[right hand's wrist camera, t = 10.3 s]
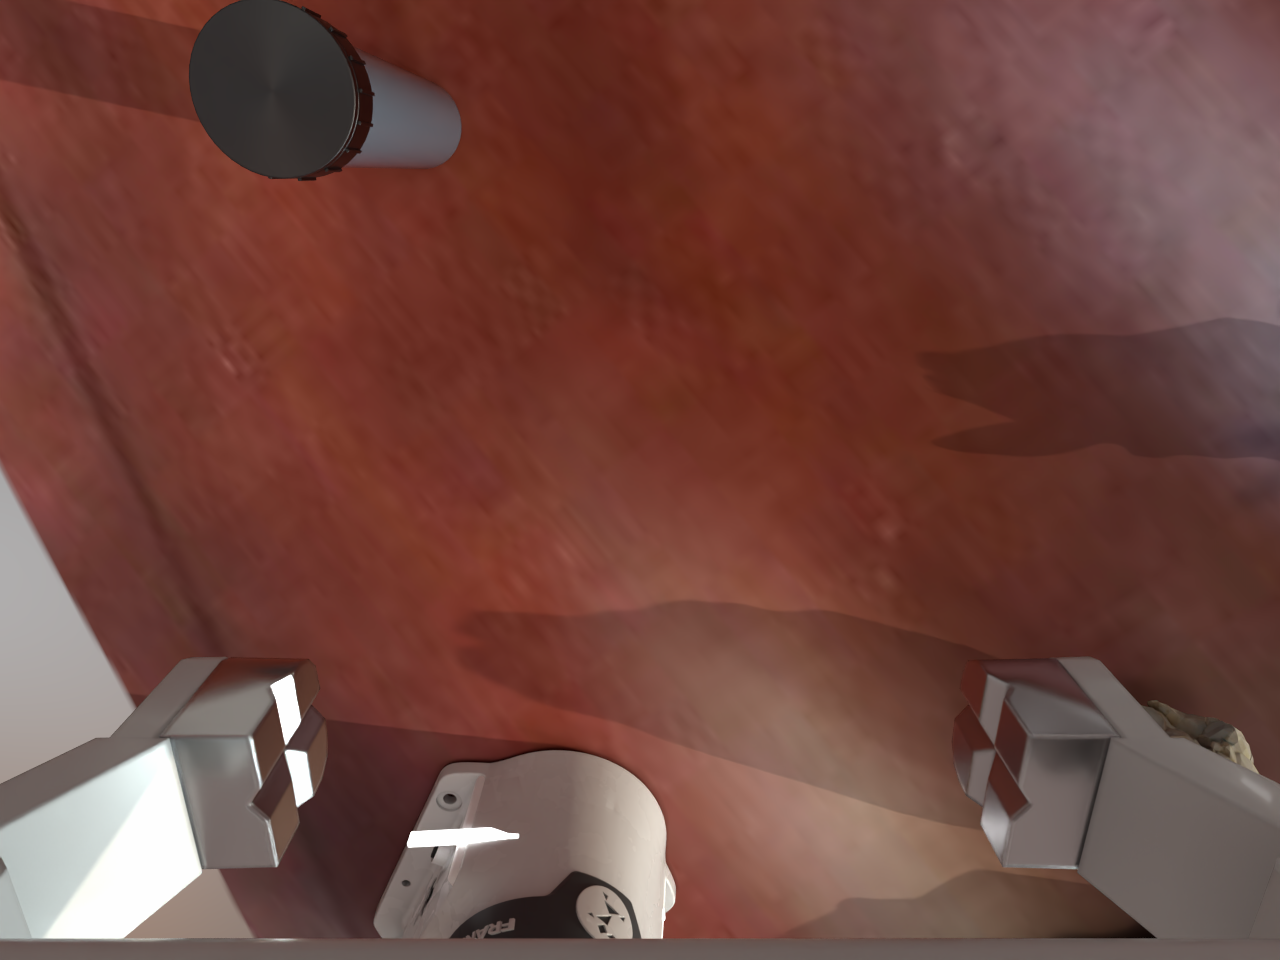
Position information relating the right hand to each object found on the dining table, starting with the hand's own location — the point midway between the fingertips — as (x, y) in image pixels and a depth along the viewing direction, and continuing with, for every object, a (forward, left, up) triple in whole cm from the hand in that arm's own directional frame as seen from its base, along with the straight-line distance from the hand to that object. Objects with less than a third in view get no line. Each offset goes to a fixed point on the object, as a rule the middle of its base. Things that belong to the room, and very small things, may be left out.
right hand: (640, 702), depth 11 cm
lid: (+1, +14, -19) cm, 23 cm away
